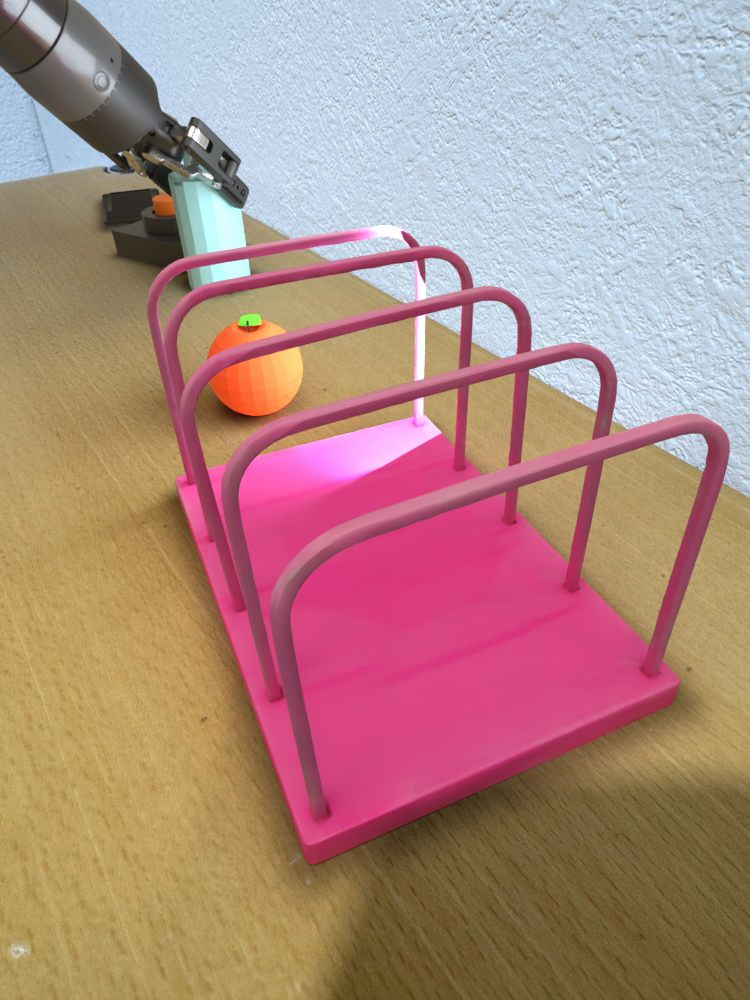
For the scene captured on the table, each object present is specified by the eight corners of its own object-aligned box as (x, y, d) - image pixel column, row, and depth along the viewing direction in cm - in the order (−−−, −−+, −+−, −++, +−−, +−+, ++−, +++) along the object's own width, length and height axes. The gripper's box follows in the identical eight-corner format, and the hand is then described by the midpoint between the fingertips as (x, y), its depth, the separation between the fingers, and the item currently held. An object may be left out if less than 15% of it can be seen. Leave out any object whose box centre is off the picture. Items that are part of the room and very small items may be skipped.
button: (148, 215, 78) (145, 199, 77) (172, 207, 80) (169, 191, 79) (171, 220, 76) (168, 203, 75) (194, 211, 79) (191, 194, 78)
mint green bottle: (178, 290, 72) (145, 135, 63) (219, 270, 76) (194, 123, 67) (223, 301, 69) (195, 141, 61) (263, 280, 74) (243, 128, 65)
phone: (157, 187, 101) (165, 215, 89) (159, 195, 101) (167, 224, 90) (101, 193, 99) (101, 222, 88) (103, 202, 100) (104, 231, 88)
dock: (118, 258, 81) (106, 214, 78) (174, 236, 86) (166, 194, 83) (186, 274, 76) (177, 227, 73) (241, 250, 82) (234, 205, 78)
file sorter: (309, 873, 26) (247, 569, 16) (178, 500, 44) (113, 251, 34) (675, 706, 31) (796, 399, 21) (423, 433, 49) (427, 201, 40)
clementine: (220, 383, 56) (204, 298, 52) (306, 377, 56) (297, 292, 52) (211, 437, 50) (191, 346, 45) (307, 430, 50) (297, 338, 46)
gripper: (164, 31, 50) (281, 167, 65) (41, 28, 57) (173, 152, 71) (126, 126, 50) (252, 241, 65) (7, 112, 57) (146, 219, 71)
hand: (210, 194), depth 68 cm, fingers open, 8 cm apart
